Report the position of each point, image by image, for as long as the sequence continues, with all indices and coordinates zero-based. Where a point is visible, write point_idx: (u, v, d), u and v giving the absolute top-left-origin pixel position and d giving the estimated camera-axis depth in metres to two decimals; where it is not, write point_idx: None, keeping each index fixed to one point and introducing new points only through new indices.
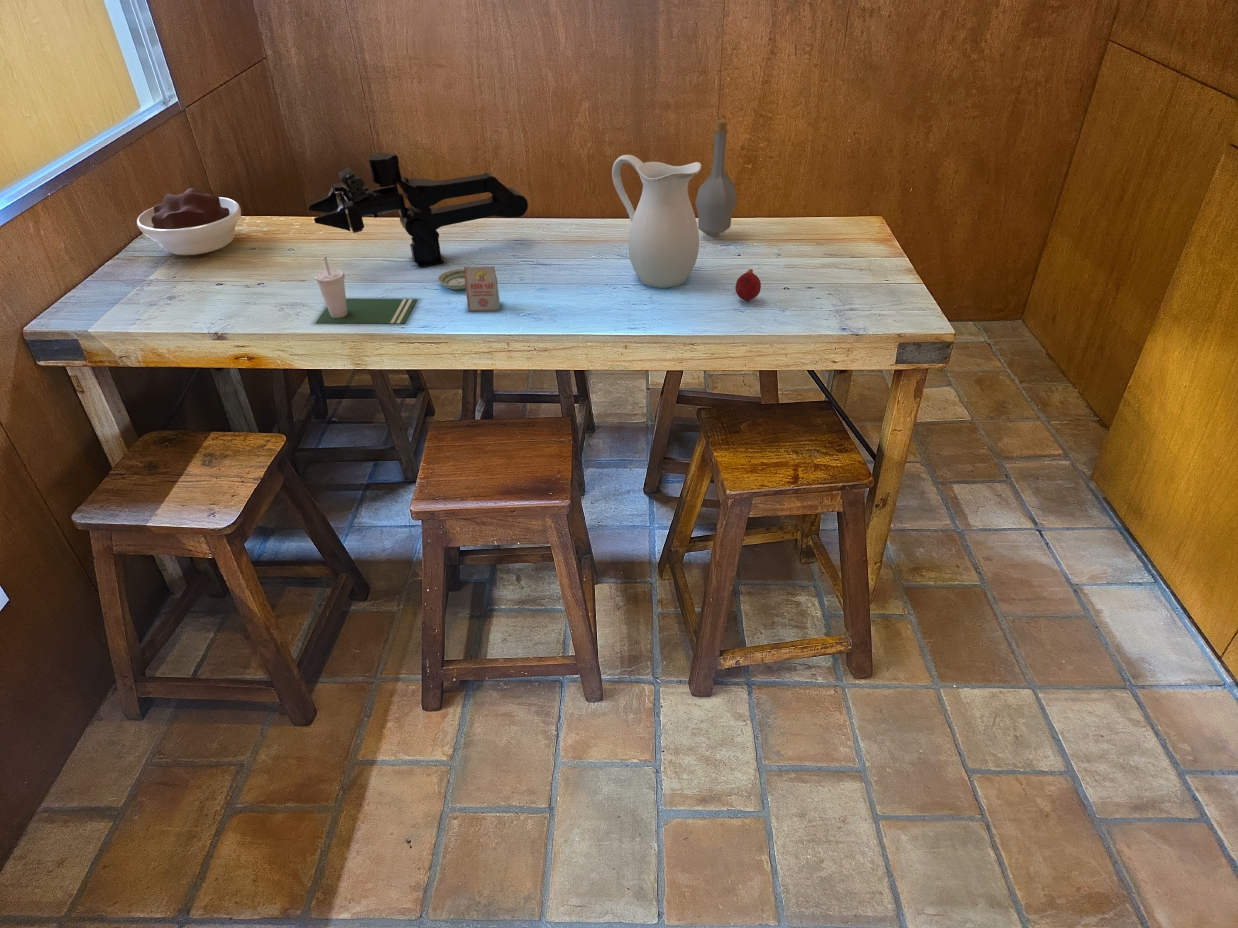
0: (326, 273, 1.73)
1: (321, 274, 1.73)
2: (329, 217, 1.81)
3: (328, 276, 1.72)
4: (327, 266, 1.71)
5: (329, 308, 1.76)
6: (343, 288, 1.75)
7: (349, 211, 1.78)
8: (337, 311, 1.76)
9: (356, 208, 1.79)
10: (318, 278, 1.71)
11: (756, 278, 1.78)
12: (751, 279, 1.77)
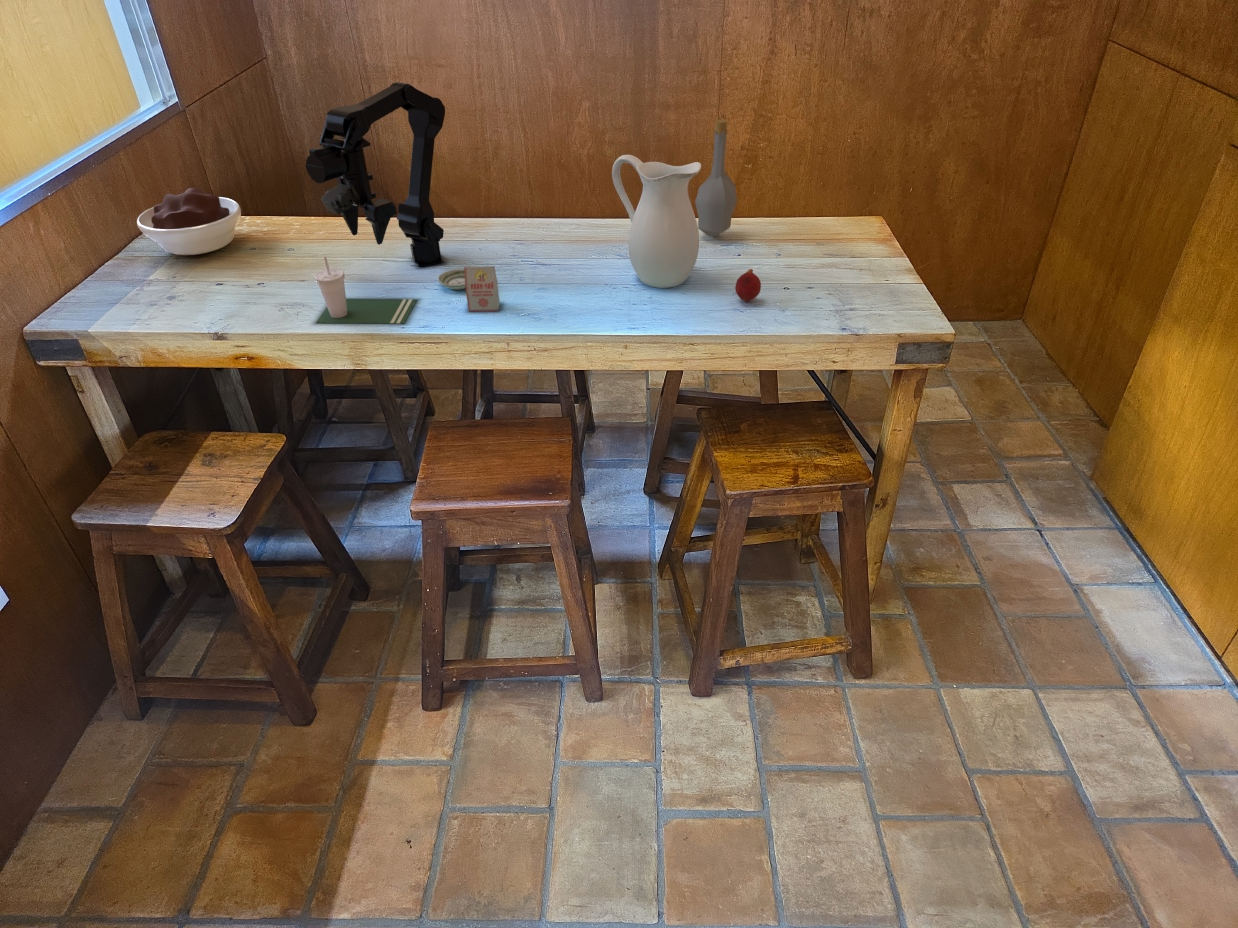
0: (326, 273, 1.73)
1: (321, 274, 1.73)
2: (378, 232, 1.78)
3: (328, 276, 1.72)
4: (327, 266, 1.71)
5: (329, 308, 1.76)
6: (343, 288, 1.75)
7: (379, 218, 1.73)
8: (337, 311, 1.76)
9: (376, 211, 1.71)
10: (318, 278, 1.71)
11: (756, 278, 1.78)
12: (751, 279, 1.77)
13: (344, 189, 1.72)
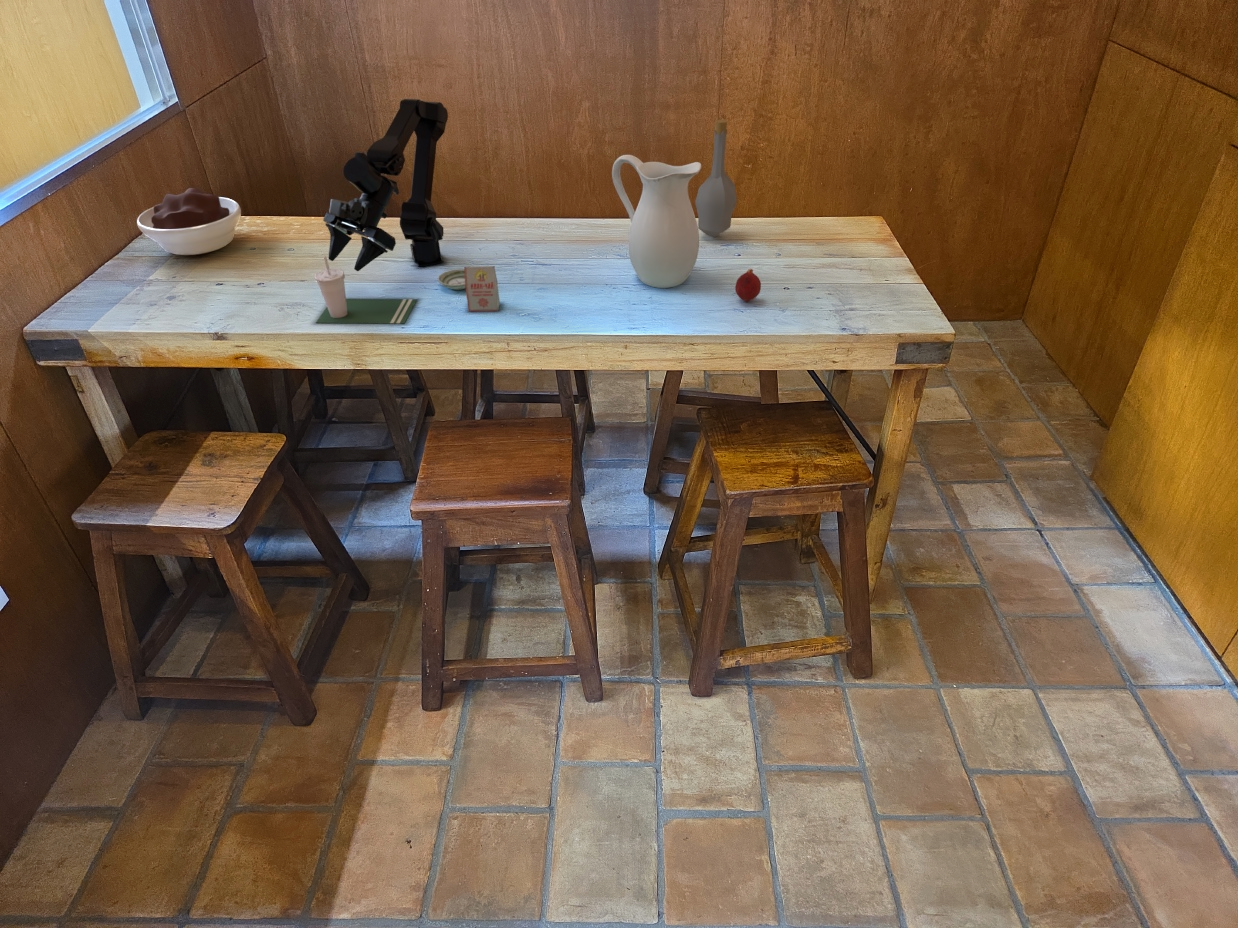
0: (326, 273, 1.73)
1: (321, 274, 1.73)
2: (363, 257, 1.72)
3: (328, 276, 1.72)
4: (327, 266, 1.71)
5: (329, 308, 1.76)
6: (343, 288, 1.75)
7: (378, 239, 1.68)
8: (337, 311, 1.76)
9: (379, 231, 1.68)
10: (318, 278, 1.71)
11: (756, 278, 1.78)
12: (751, 279, 1.77)
13: None
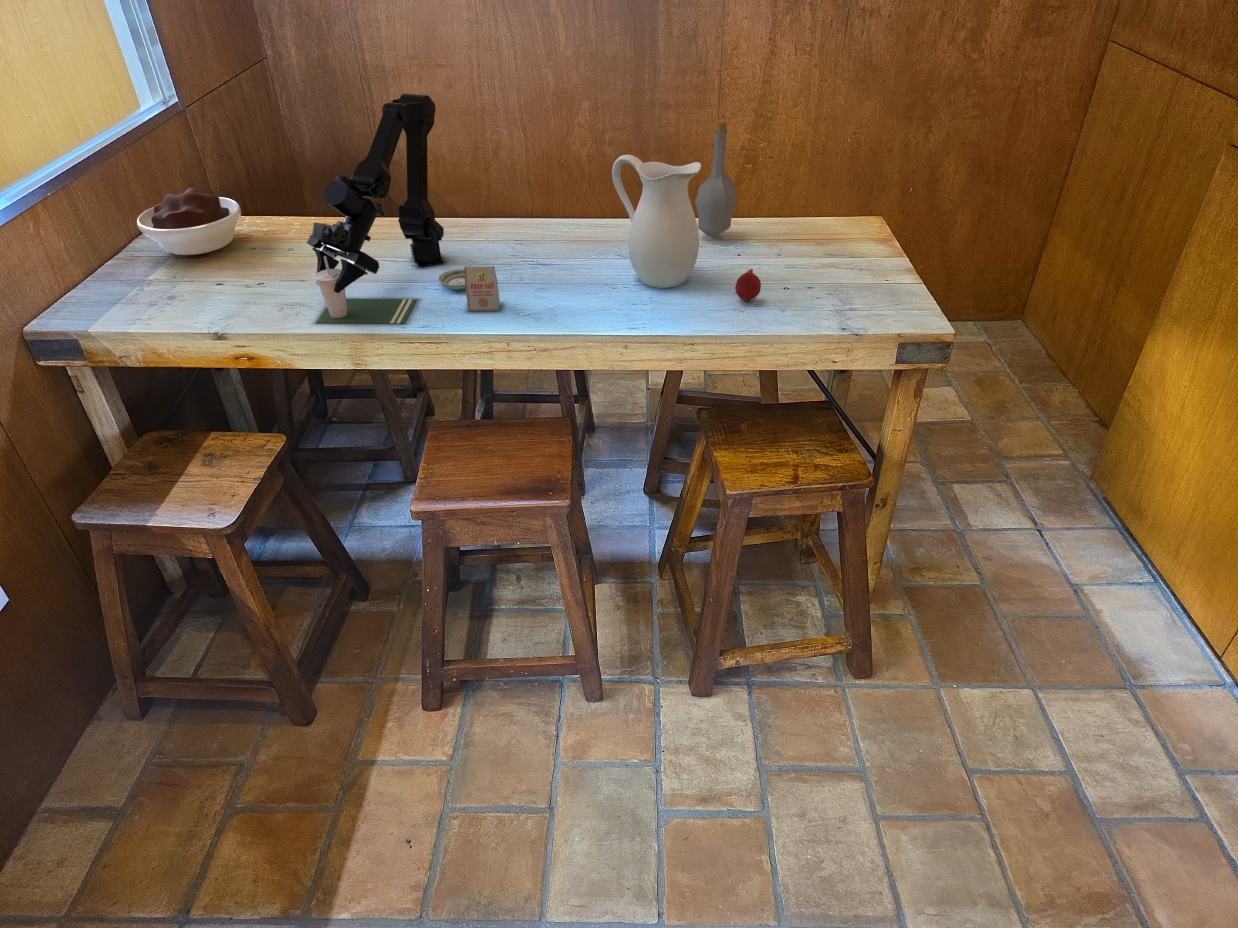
0: (326, 273, 1.73)
1: (321, 274, 1.73)
2: (343, 279, 1.71)
3: (328, 276, 1.72)
4: (327, 266, 1.71)
5: (329, 308, 1.76)
6: None
7: (361, 263, 1.67)
8: (337, 311, 1.76)
9: (362, 255, 1.67)
10: (318, 278, 1.71)
11: (756, 278, 1.78)
12: (751, 279, 1.77)
13: None
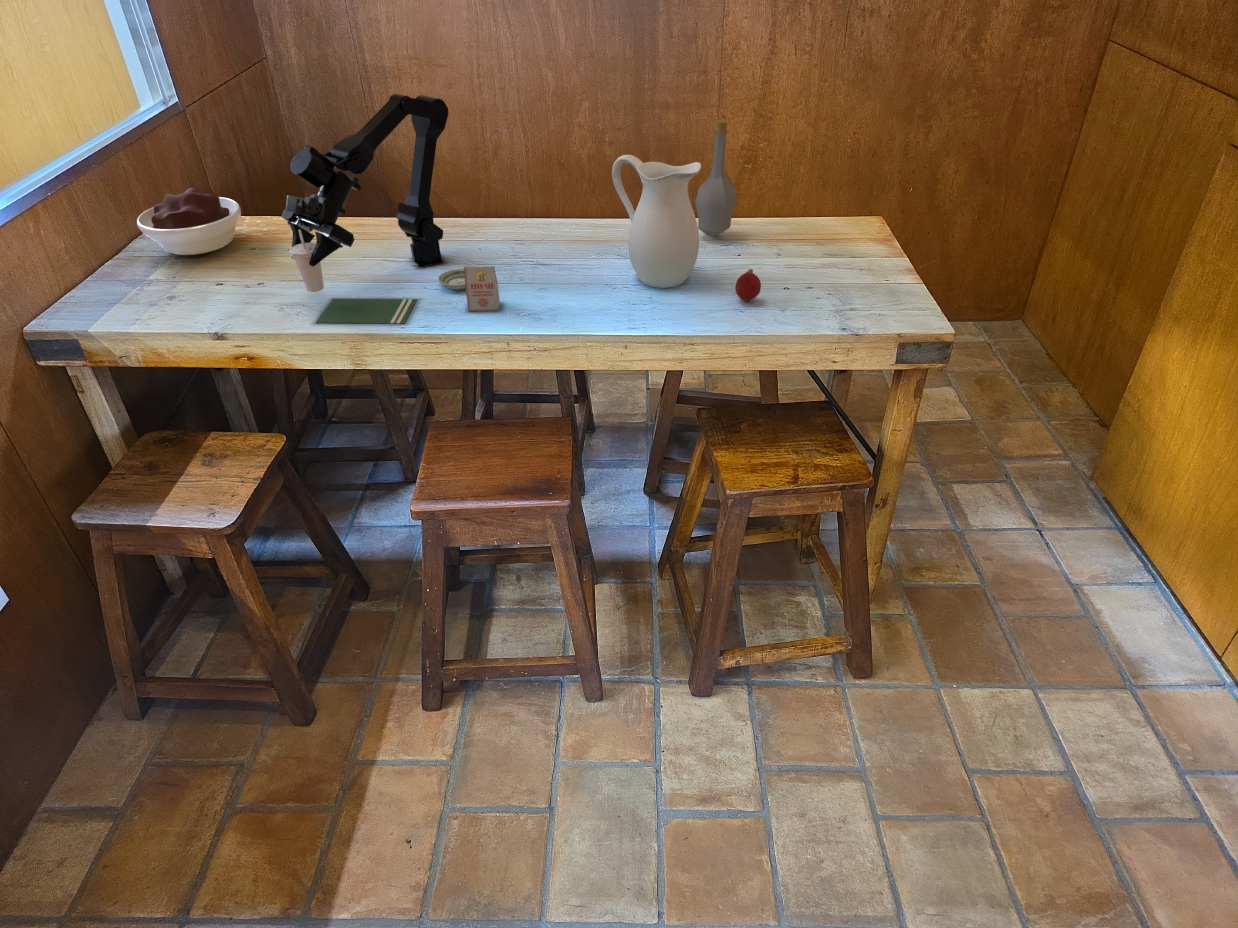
0: (301, 247, 1.73)
1: (296, 248, 1.73)
2: (318, 252, 1.71)
3: (303, 250, 1.72)
4: (302, 239, 1.71)
5: (305, 282, 1.76)
6: (319, 262, 1.75)
7: (335, 235, 1.67)
8: (313, 285, 1.76)
9: (336, 227, 1.67)
10: (293, 252, 1.71)
11: (756, 278, 1.78)
12: (751, 279, 1.77)
13: None
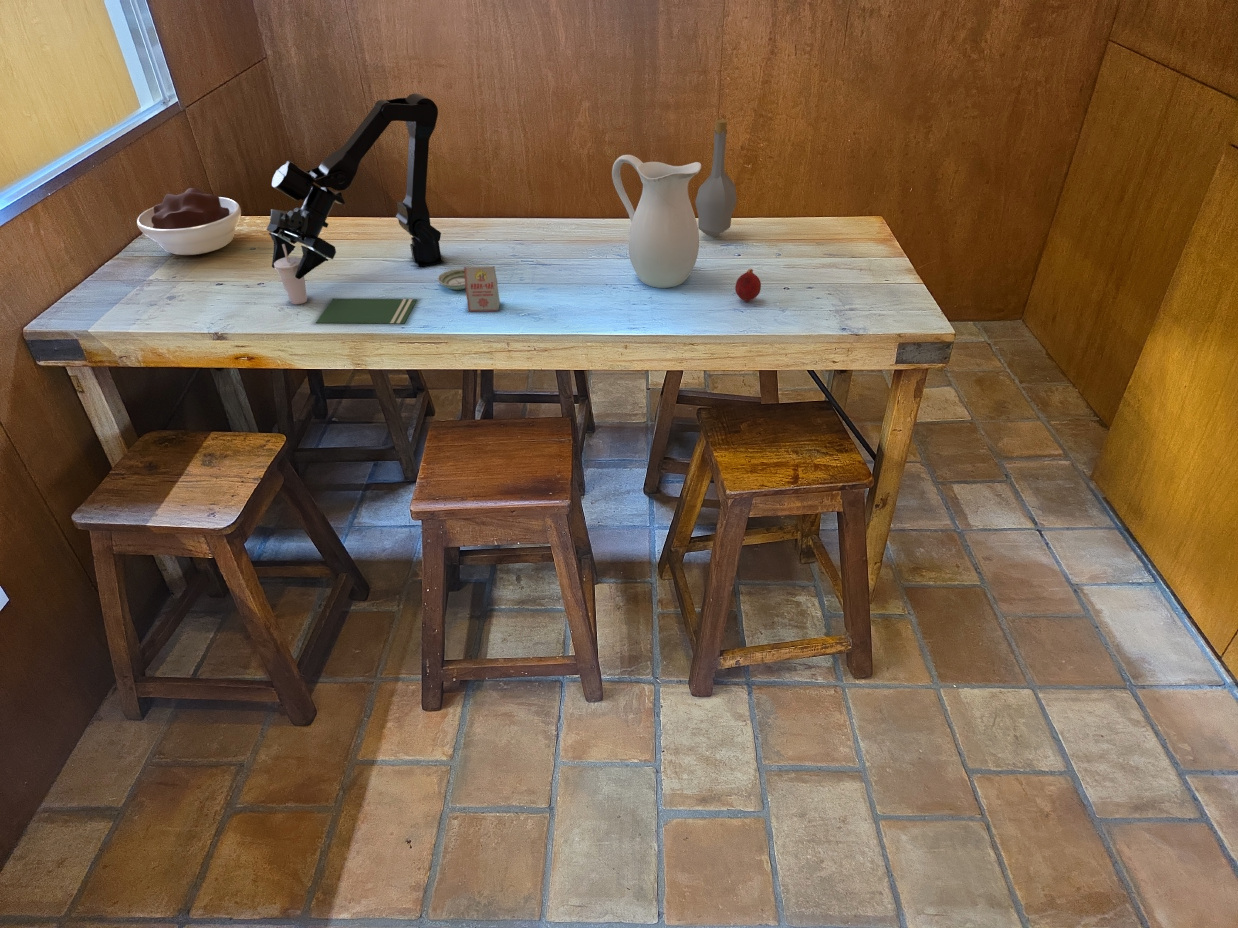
0: (285, 261, 1.79)
1: (280, 261, 1.79)
2: (304, 265, 1.76)
3: (287, 263, 1.78)
4: (286, 254, 1.77)
5: (289, 295, 1.82)
6: None
7: (317, 248, 1.73)
8: (296, 298, 1.82)
9: (318, 240, 1.73)
10: (277, 265, 1.78)
11: (756, 278, 1.78)
12: (751, 279, 1.77)
13: None
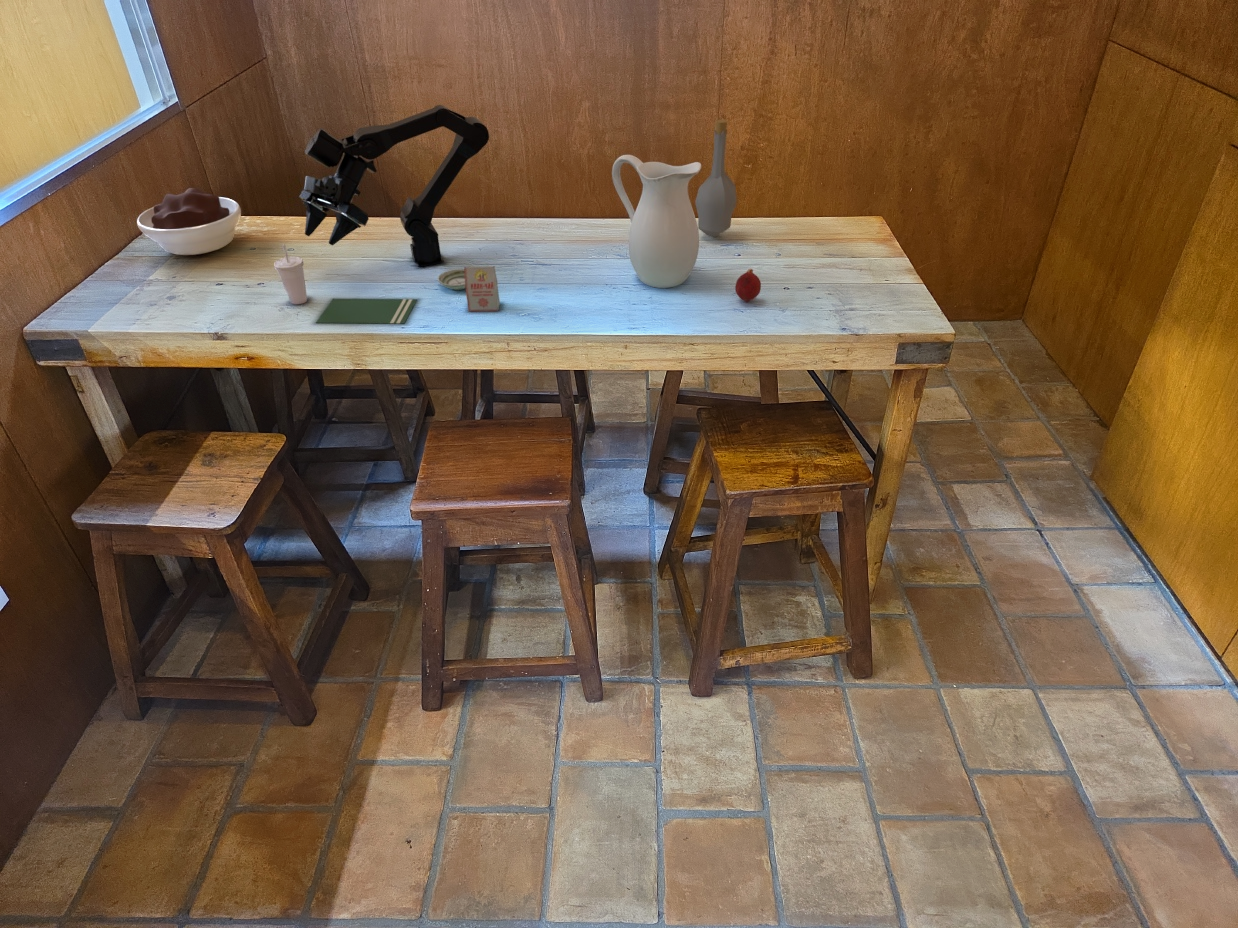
0: (285, 261, 1.79)
1: (280, 261, 1.79)
2: (337, 232, 1.80)
3: (287, 263, 1.78)
4: (286, 254, 1.77)
5: (289, 295, 1.82)
6: (302, 275, 1.81)
7: (351, 214, 1.77)
8: (296, 298, 1.82)
9: (352, 206, 1.77)
10: (277, 265, 1.78)
11: (756, 278, 1.78)
12: (751, 279, 1.77)
13: None
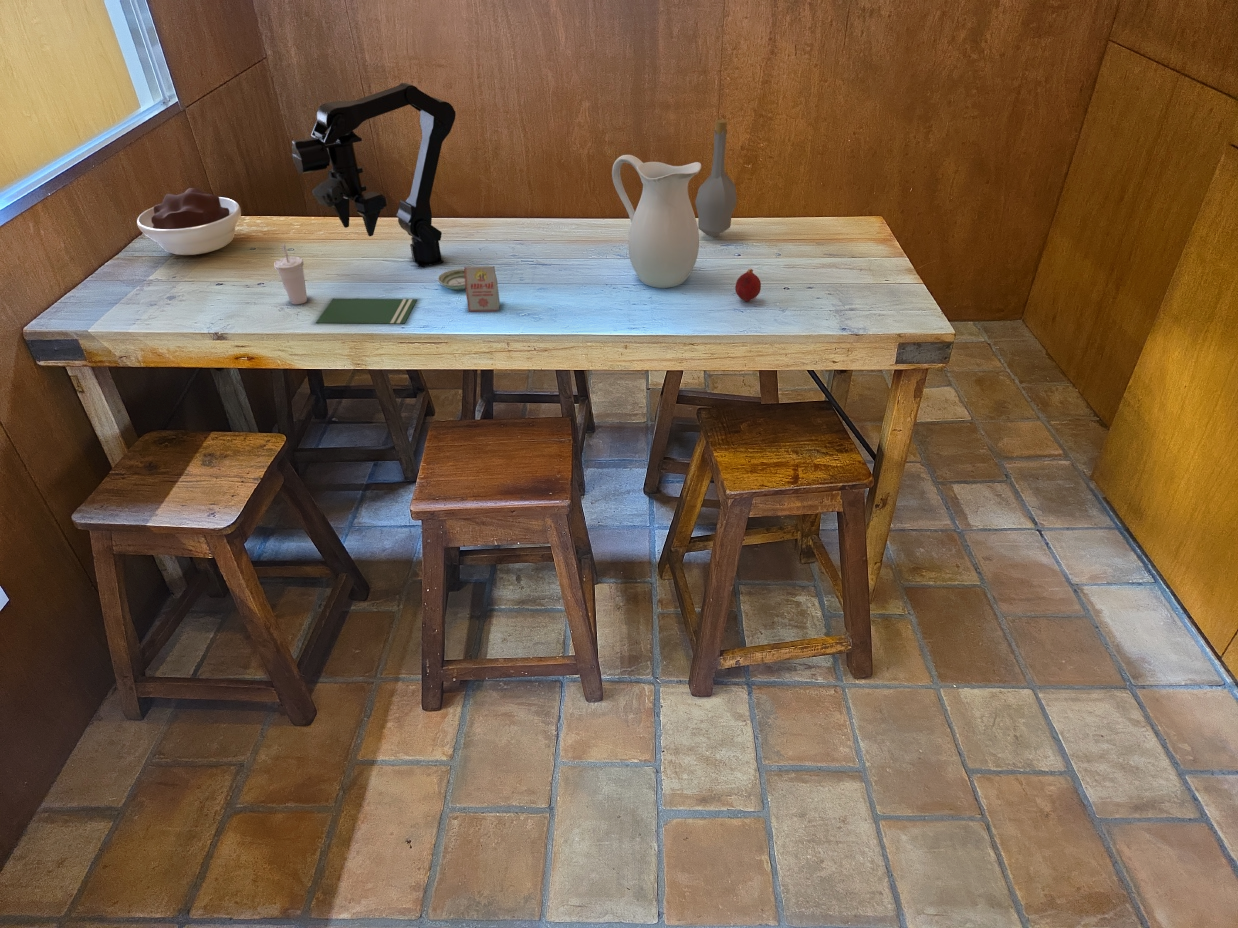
0: (285, 261, 1.79)
1: (280, 261, 1.79)
2: (369, 224, 1.82)
3: (287, 263, 1.78)
4: (286, 254, 1.77)
5: (289, 295, 1.82)
6: (302, 275, 1.81)
7: (369, 210, 1.77)
8: (296, 298, 1.82)
9: (366, 203, 1.75)
10: (277, 265, 1.78)
11: (756, 278, 1.78)
12: (751, 279, 1.77)
13: (335, 182, 1.76)
